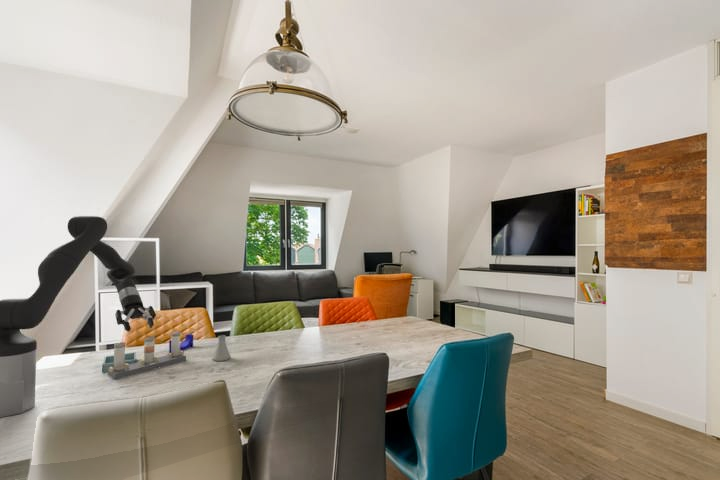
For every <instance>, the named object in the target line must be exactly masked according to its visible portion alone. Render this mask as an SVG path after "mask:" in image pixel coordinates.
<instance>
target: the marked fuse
mask: <svg viewBox="0 0 720 480" xmlns="http://www.w3.org/2000/svg"><path fill="white" fill-rule="evenodd" d="M155 339H156V337H155V336H148V337H147V336H146V337H145V338H144V346H143V348H144V349H143V353H144V355H143V356H144V357H143V360H144V364H150V363H153V362H154V357H155V347H156V345H155Z"/></svg>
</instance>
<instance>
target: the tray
mask: <svg viewBox="0 0 720 480" xmlns="http://www.w3.org/2000/svg"><path fill="white" fill-rule="evenodd" d="M125 363H127V364H132V363H137V352H136V351H135V352H128V353H127V352H126V353H125ZM109 367H112V368H113V367H114V354H113V355H108V356H107V355H105V356H104V357H103V361H102V366H101V370H102V371H101V373H107V372H108V369H109Z"/></svg>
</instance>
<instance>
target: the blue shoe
mask: <svg viewBox="0 0 720 480" xmlns="http://www.w3.org/2000/svg"><path fill="white" fill-rule="evenodd" d="M190 346H191V347H190ZM192 346H193V347H194V334H190V333H189V334H185V339H184V340H182V341H180V350H181V351H184V349H185V350H187V349H190V348H192ZM189 347H190V348H189ZM186 348H187V349H186ZM168 352H169V353H170V354H171V339H169V344H168Z"/></svg>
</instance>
